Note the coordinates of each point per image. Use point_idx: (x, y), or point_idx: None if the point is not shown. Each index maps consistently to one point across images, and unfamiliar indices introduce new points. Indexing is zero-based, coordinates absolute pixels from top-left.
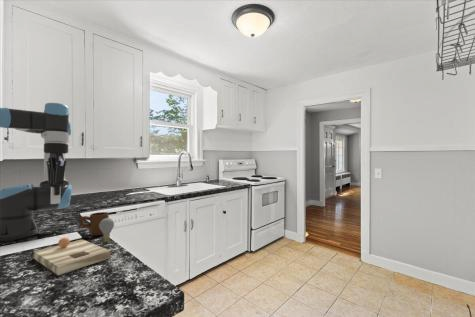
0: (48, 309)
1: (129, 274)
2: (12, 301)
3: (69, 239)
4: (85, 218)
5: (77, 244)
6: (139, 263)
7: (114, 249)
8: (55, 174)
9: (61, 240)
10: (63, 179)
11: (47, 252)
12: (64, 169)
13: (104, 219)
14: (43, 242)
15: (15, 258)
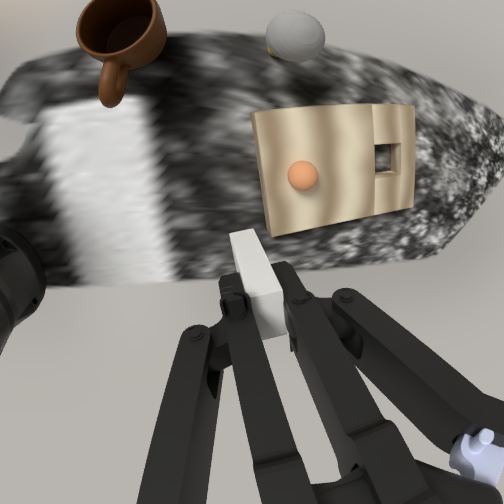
0: (462, 224)
1: (469, 127)
2: (422, 252)
3: (307, 163)
4: (117, 79)
5: (303, 138)
6: (454, 91)
7: (359, 67)
8: (384, 393)
9: (313, 186)
10: (385, 315)
11: (311, 211)
12: (459, 377)
13: (309, 41)
14: (112, 206)
15: (228, 261)
